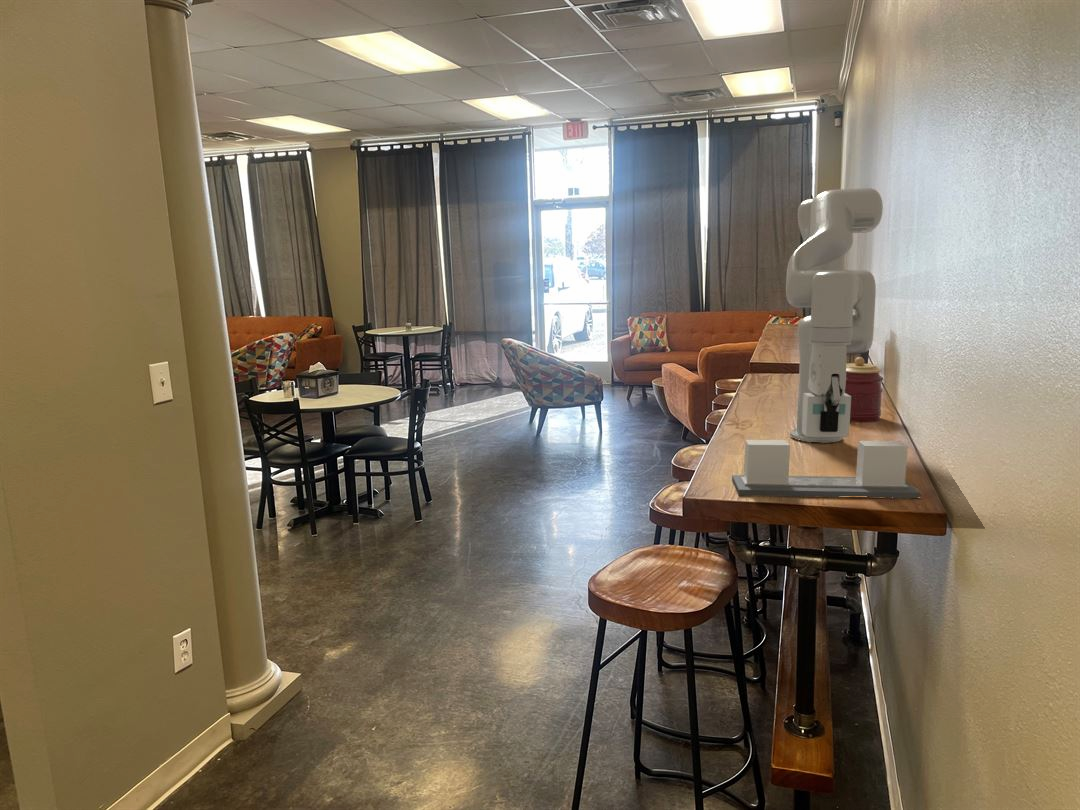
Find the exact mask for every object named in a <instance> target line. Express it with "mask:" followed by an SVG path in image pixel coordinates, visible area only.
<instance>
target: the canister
mask: <svg viewBox="0 0 1080 810" xmlns="http://www.w3.org/2000/svg"><path fill="white" fill-rule="evenodd" d="M881 372H882V371H881V368H879V367H877V366H876V365H875V364H870V363H865V359H864V358H863V357H862V356H858V357H856V358H855V359H854V362H853V363H846V385H845V393H846V394H848V395H850V396H851V409H850V422H854V423H855V422H856V423H870V422H872V423H873V422H877V421H879V420H880V418H881V416H882V398H883V397H882V396H883V395H882V394H883V391H884V390H883V388H882V382H883V381H884V377H883V376H881V375H880V373H881Z"/></svg>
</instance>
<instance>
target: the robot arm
mask: <svg viewBox="0 0 1080 810" xmlns="http://www.w3.org/2000/svg"><path fill="white" fill-rule="evenodd" d="M883 205H884V204H883V200H882V197H881V194H880V192H878V190H876V189H874V188H871V187H870V188H869V187H868V188H867V187H866V188H865V187H863V188H846V189H845V188H842V189H840V188H839V189H830V190H825V191H823V192H821V193H819V194H817V195H816V197H813V198H808V199H806V200H803V201H802V202H801V203H800V204H799V206H798V208H797V222H798V223H797V224H798V228H799V230H800V231H799V232H800V235H801V238H802V240H803V243H801V244H800V245H799V246H798V247H797V249H795V250H794V252H793V254H791V256H790V258H789V260H788V263H787V268H786V279H785V297H786V300H787V302H788V304H789V305H791V306H792V307H793V308H799V309H804V308H809V309H810V315H808V316H805V317H803V318H802V319H801V320H800V321H799V323H798V325H797V341H798V343H797V344H798V351H799V352H798V353H799V354H798V355H799V368H798V369H799V370H798V372H799V373H798V374H799V375H798V389H797V390H798V391H797V392H798V393H797V394H798V396H797V414H796V428H795V429H792V430H791V431H790V432H789V436H790V437H791V436H792V437H794V438H797V439H800V440H804V441H809V442H808V443H811V442H821V443H820V444H832V443H831V442H833V443H837V442H841V441H842V440H843V437H806V436H805V435H804V434H803V433H802V413H803V393H814V394H816V395H817V396H822V394H823V411H821V416H820V431H821V432H837V431H838V415H839V402H840V396H842V395H843V394H844V393H845V385H846V364H847V354H863V353H867V352H868V351H870V349H871V347H872V344H873V340H874V333H875V332H874V331H875V329H874V328H875V312H876V298H877V297H876V296H877V295H876V294H877V291H876V290H877V289H876V280H875V277H874V275H873V273H872V272H870V271H869V270H864V269H845V268H844V267H845V266H844V264H845V255H846V254H848V252H850V250H851V248H852V246H853V241H854V237H853V234H867V233H870V232H872V231H874V230H875V229H876V228H877V227H878V226H879V224H880V222H881V220H882V218H883V210H884V209H883ZM826 393H831V395H826ZM827 399H831V400H828V401H827ZM804 441H803V442H804Z"/></svg>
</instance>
